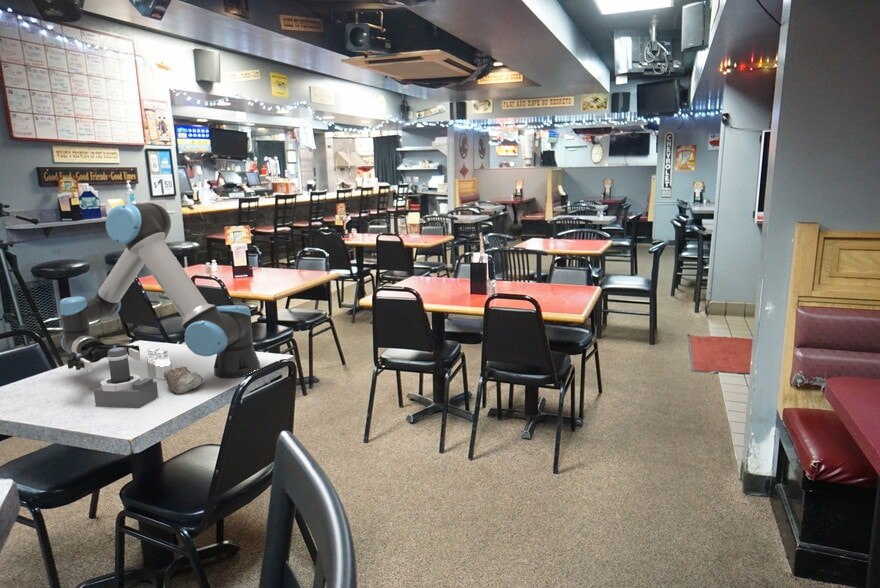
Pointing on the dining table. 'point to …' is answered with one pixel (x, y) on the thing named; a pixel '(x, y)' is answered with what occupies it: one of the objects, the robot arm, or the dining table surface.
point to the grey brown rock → (182, 379)
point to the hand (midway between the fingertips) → (115, 361)
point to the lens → (118, 365)
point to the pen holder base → (126, 393)
